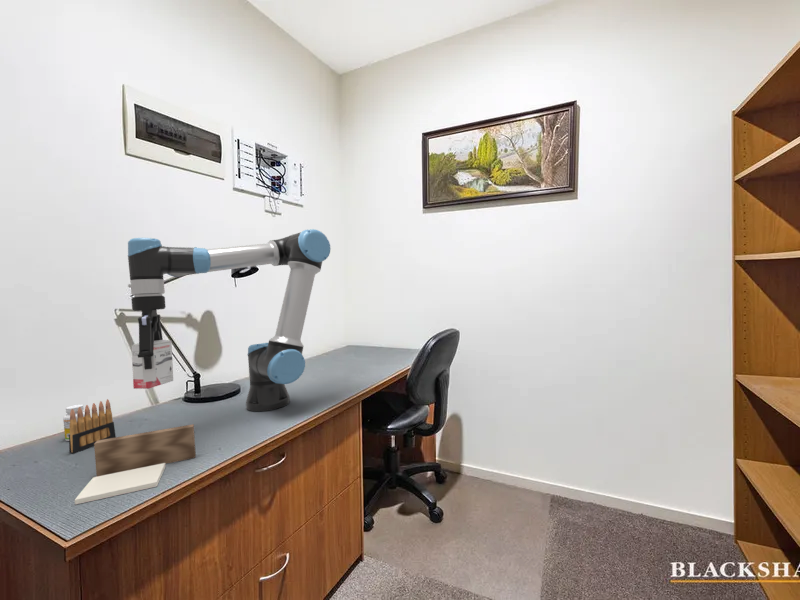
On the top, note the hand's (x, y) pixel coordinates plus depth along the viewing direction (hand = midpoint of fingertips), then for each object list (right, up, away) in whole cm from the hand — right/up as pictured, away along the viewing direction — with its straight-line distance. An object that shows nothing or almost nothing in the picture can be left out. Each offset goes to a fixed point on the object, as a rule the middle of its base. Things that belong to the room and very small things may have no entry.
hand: (154, 377), depth 100 cm
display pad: (+6, -20, -19) cm, 28 cm away
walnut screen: (+6, -19, -10) cm, 23 cm away
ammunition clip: (-20, -21, +4) cm, 29 cm away
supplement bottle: (-31, -21, +11) cm, 39 cm away
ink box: (0, -2, 0) cm, 2 cm away
